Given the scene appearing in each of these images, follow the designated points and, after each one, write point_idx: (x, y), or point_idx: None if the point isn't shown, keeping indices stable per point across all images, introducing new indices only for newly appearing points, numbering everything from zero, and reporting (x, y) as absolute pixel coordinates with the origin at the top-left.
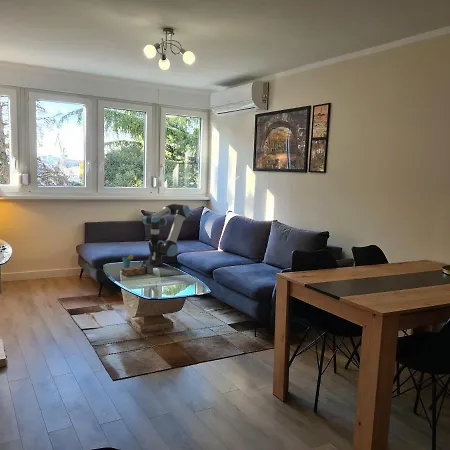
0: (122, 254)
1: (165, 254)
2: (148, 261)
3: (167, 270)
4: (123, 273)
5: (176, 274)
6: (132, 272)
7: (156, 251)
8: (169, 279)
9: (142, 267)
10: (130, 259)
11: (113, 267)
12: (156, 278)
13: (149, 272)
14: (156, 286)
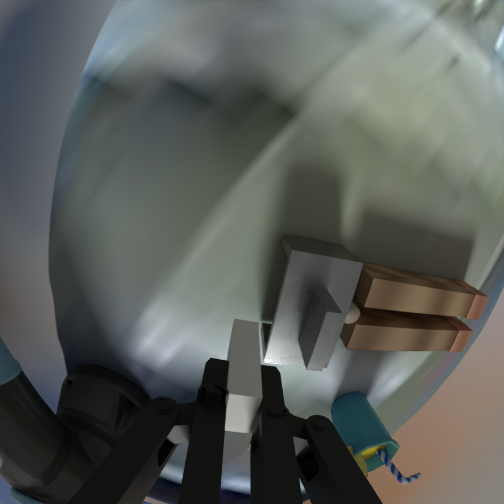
0: (402, 478)
1: (30, 387)
2: (332, 324)
3: (107, 245)
4: (454, 316)
5: (131, 94)
6: (443, 283)
7: (195, 409)
8: (295, 14)
9: (358, 315)
10: (358, 446)
11: None
12: (364, 92)
13: (320, 242)
14: (447, 7)
